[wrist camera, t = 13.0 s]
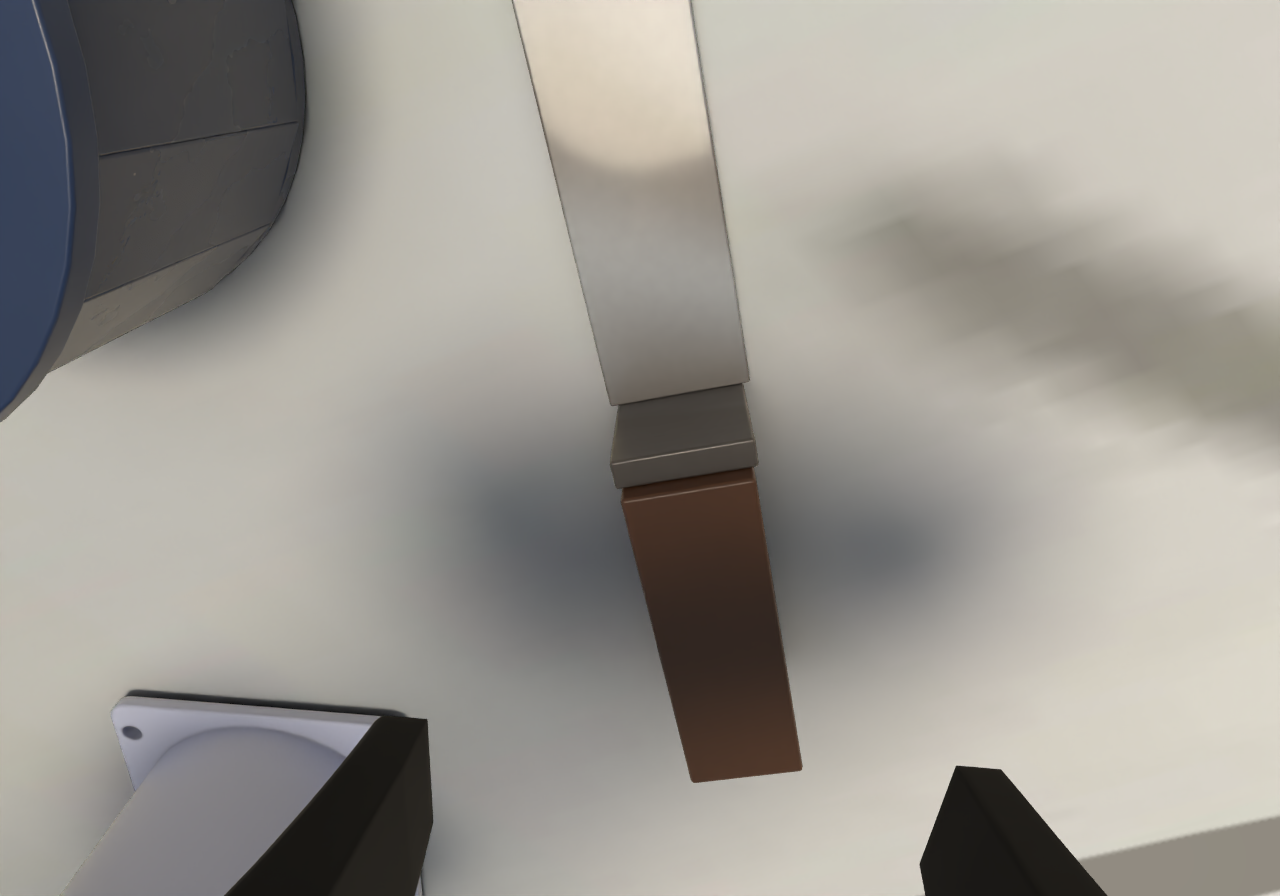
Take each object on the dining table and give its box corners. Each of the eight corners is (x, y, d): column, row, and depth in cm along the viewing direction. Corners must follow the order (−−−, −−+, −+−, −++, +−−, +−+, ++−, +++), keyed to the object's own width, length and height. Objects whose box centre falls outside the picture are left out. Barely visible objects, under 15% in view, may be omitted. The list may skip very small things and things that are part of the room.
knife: (793, 663, 20) (814, 770, 17) (679, 678, 21) (680, 786, 18) (649, -263, 12) (641, -370, 9) (463, -210, 12) (396, -296, 9)
